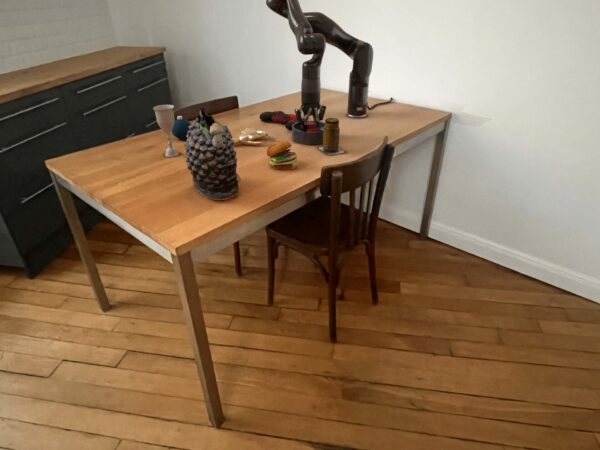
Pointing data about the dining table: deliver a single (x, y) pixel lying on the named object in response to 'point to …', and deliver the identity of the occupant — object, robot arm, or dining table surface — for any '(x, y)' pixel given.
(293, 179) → the dining table surface
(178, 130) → the christmas ornament
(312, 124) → the toy car
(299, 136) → the bowl
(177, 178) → the dining table surface
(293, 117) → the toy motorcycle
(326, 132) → the condiment
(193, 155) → the pinecone ceramic vase
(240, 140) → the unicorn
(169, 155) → the chalice
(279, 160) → the cheeseburger
